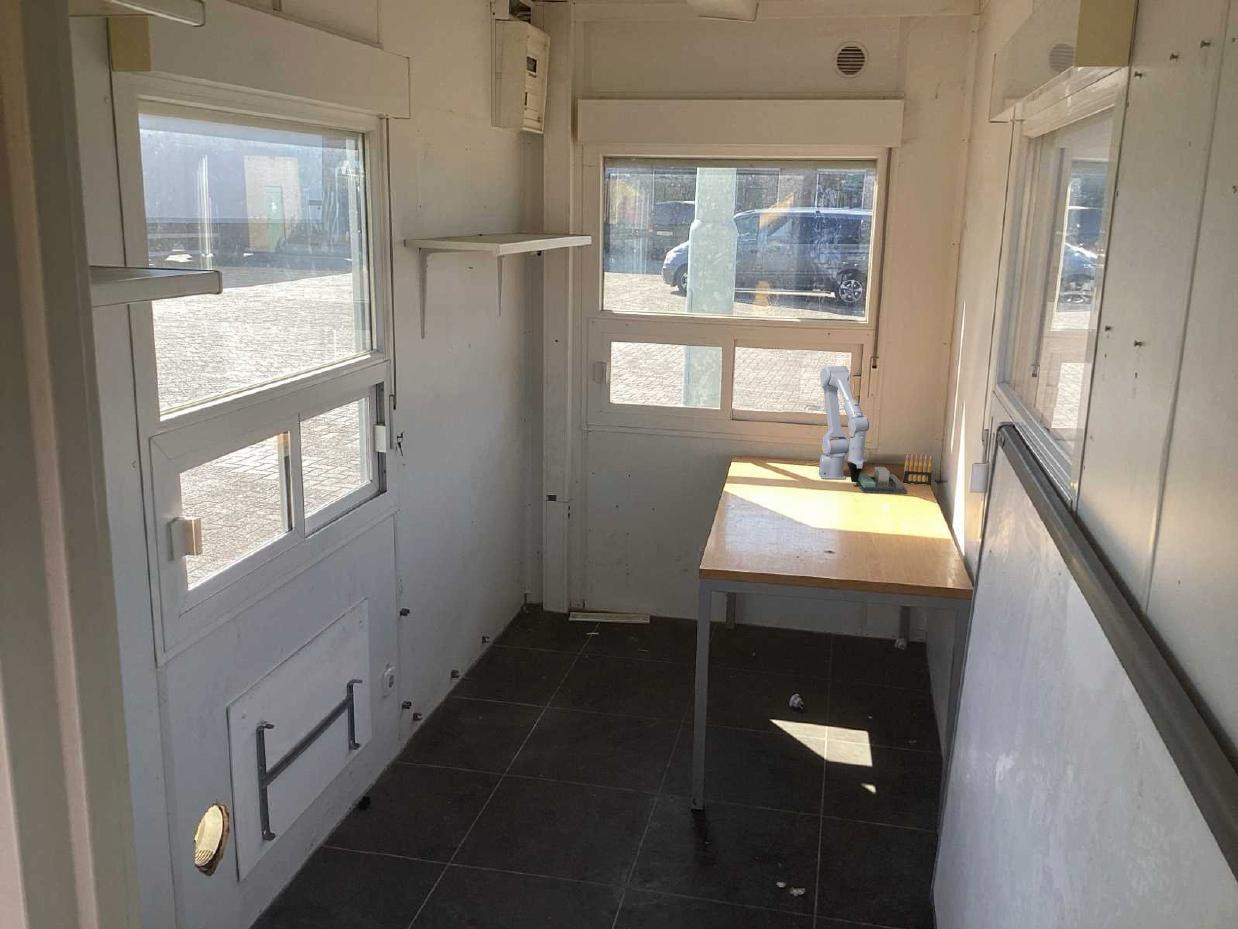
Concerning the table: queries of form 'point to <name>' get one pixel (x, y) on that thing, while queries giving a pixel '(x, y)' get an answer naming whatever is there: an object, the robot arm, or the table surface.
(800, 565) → the table surface
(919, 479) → the ammunition clip
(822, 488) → the table surface
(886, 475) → the steel block
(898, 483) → the vise bed
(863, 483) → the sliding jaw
